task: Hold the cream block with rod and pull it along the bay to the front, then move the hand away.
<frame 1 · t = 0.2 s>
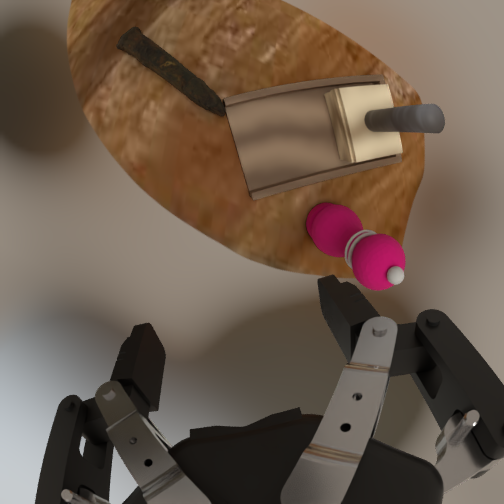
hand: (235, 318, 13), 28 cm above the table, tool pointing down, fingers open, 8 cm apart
hand tool: (177, 72, 32), on the table
bay: (317, 129, 37), on the table
cream block with rod: (387, 120, 28), point 10 cm above the table, slide at 0.0 cm
pepper mill: (324, 221, 42), on the table
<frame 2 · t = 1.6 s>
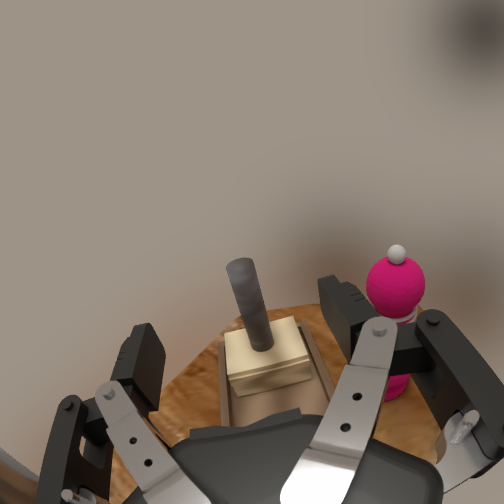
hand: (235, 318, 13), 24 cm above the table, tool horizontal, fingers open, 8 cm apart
bay: (278, 404, 32), on the table
cream block with rod: (257, 324, 34), point 10 cm above the table, slide at 0.0 cm
pepper mill: (384, 383, 31), on the table
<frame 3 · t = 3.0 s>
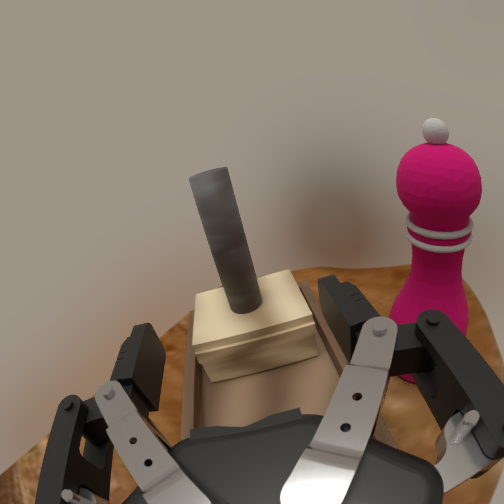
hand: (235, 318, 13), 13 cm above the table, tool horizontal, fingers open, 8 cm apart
bay: (270, 394, 22), on the table
cream block with rod: (236, 271, 24), point 10 cm above the table, slide at 0.0 cm
pepper mill: (420, 359, 21), on the table
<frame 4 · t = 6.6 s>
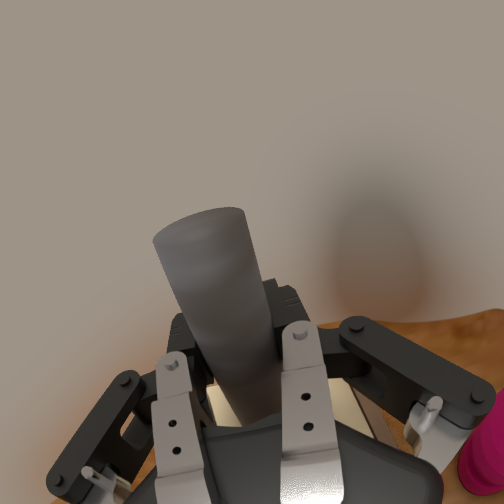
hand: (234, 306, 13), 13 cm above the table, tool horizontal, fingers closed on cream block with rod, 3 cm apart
cream block with rod: (258, 394, 12), point 10 cm above the table, slide at 0.0 cm, touching gripper
pepper mill: (490, 460, 9), on the table
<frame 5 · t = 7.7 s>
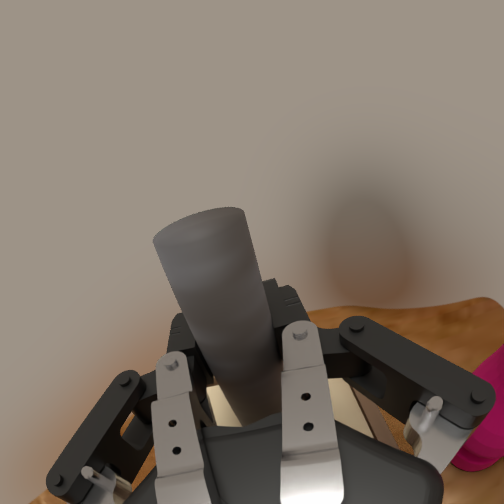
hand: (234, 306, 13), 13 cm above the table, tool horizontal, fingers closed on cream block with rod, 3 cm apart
bay: (295, 495, 13), on the table
cream block with rod: (258, 394, 12), point 10 cm above the table, slide at 2.7 cm, touching gripper
pepper mill: (476, 437, 12), on the table
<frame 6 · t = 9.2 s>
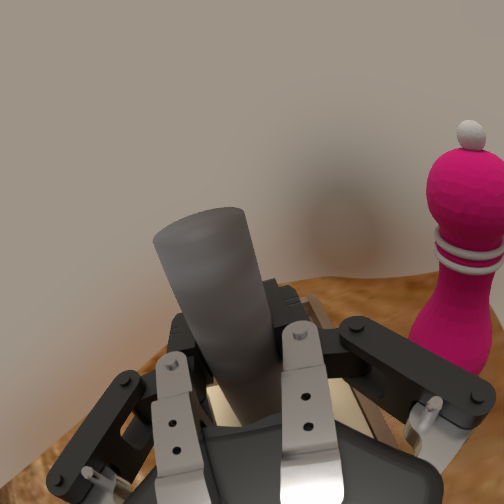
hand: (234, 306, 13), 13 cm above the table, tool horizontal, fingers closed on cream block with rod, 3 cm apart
bay: (277, 420, 20), on the table
cream block with rod: (258, 394, 12), point 10 cm above the table, slide at 9.8 cm, touching gripper
pepper mill: (437, 380, 18), on the table
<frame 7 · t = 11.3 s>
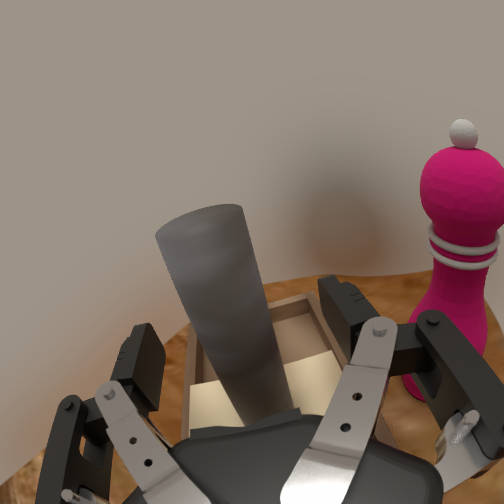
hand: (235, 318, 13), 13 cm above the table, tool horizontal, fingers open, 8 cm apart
bay: (276, 415, 20), on the table
cream block with rod: (256, 387, 12), point 10 cm above the table, slide at 10.0 cm
pepper mill: (434, 375, 19), on the table
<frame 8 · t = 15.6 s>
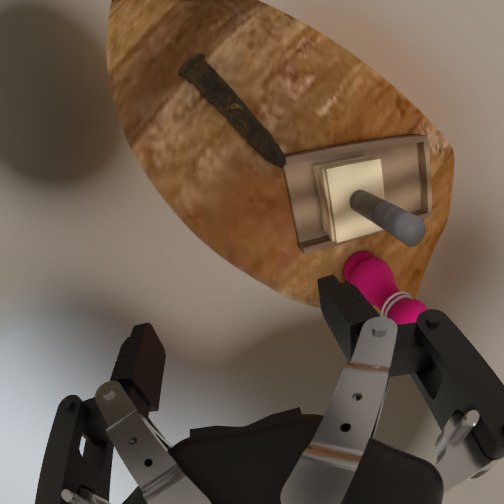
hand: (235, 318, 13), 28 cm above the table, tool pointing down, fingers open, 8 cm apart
hand tool: (238, 111, 34), on the table
bay: (363, 185, 40), on the table
cream block with rod: (371, 208, 31), point 10 cm above the table, slide at 10.0 cm
pepper mill: (358, 267, 46), on the table
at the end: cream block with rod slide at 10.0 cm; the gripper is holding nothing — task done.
